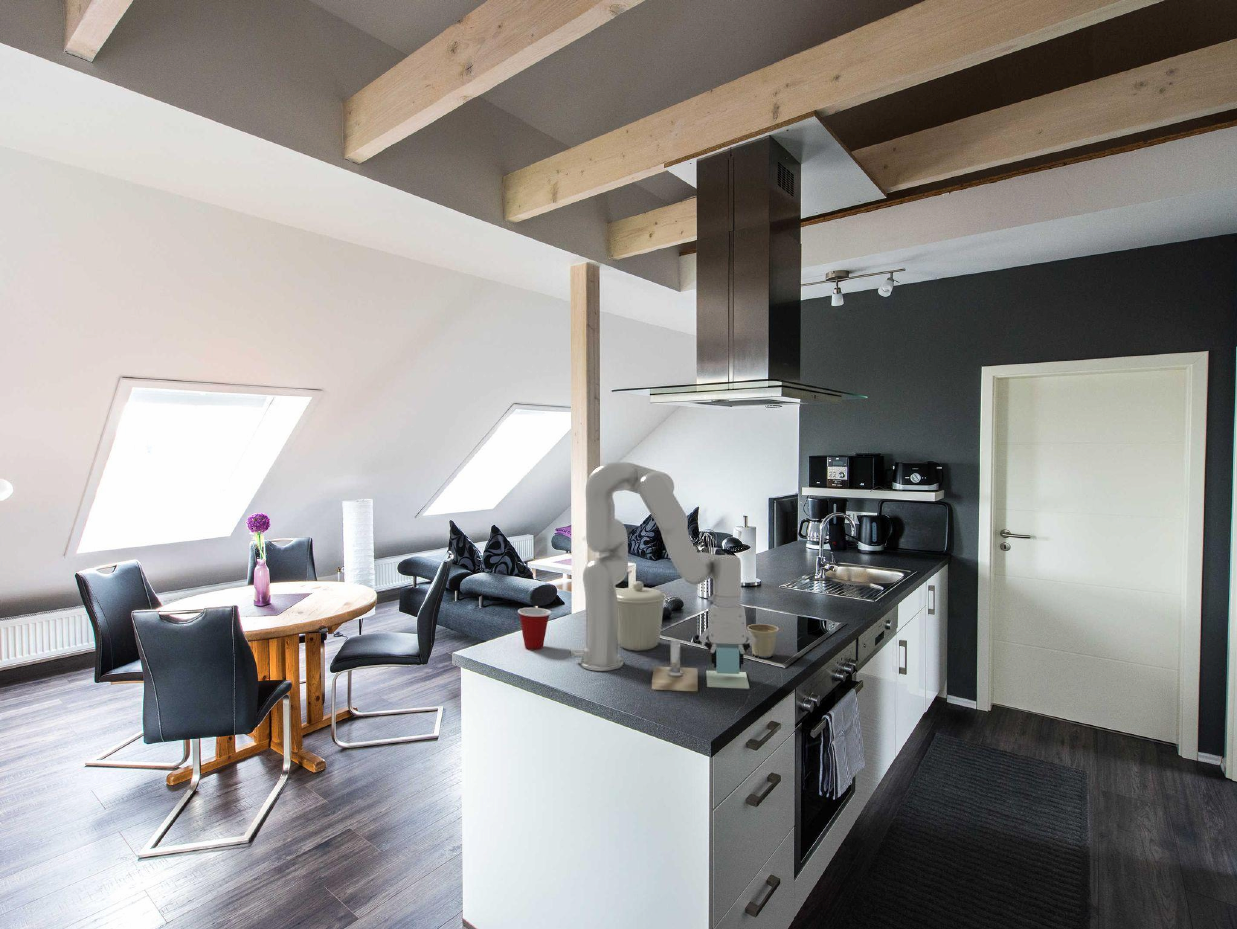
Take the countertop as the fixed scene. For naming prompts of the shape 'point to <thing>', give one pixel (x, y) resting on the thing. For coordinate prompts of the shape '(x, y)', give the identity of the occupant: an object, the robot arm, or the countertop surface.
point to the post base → (675, 679)
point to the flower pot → (763, 638)
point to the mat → (727, 680)
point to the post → (675, 660)
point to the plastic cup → (534, 626)
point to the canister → (639, 617)
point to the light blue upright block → (727, 659)
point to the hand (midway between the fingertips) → (727, 665)
